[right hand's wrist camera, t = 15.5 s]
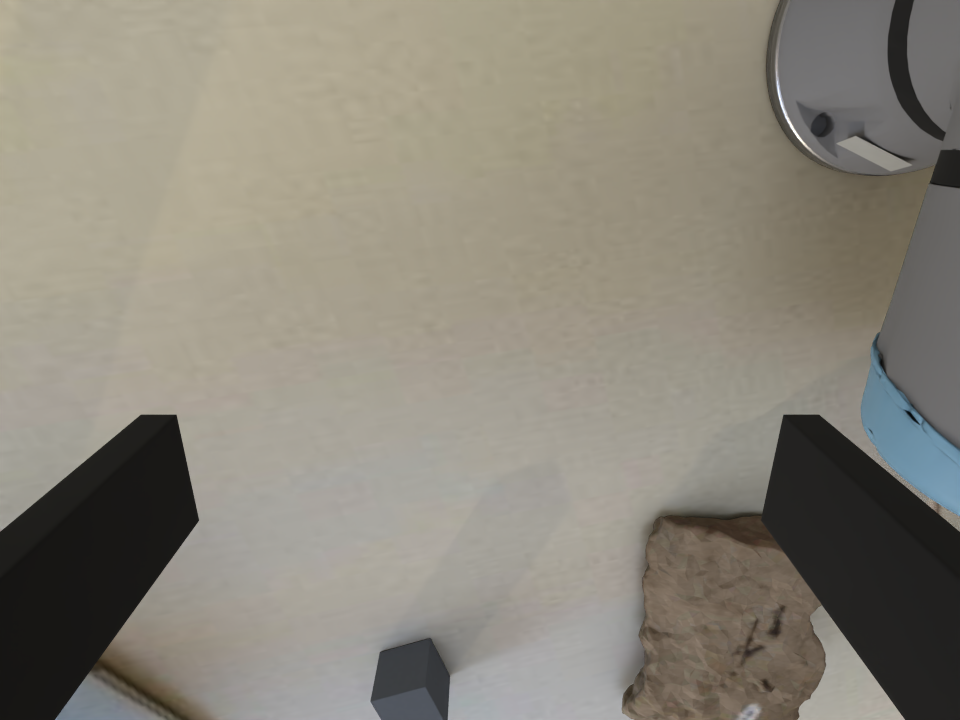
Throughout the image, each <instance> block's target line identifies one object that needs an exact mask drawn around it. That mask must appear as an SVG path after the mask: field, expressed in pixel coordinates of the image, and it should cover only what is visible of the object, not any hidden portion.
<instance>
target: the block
mask: <svg viewBox="0 0 960 720" xmlns="http://www.w3.org/2000/svg"><path fill="white" fill-rule="evenodd" d="M449 684H450V675H449V673H448V671H447V669H446V667H445V665H444V664H443V662H442V660H441V658H440V656H439V654H438V652H437V650H436V648H435V646H434V644H433V643H432V641H431V639H430V638H429V639H426V640H422V641H419V642H415V643H411V644H408V645H404V646H401V647H397V648H393V649H390V650H386V651H383V652H380V655H379V660H378V665H377V671H376V676H375V681H374V686H373V691H372V697H371V703H372V705H373V707H374V708H375V710H376V712H377V713H378V715H379V717H380V718H381V720H448V702H449Z"/></svg>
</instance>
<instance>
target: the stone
mask: <svg viewBox="0 0 960 720" xmlns="http://www.w3.org/2000/svg"><path fill="white" fill-rule="evenodd" d="M761 518H762V516H756V515H754V516H751V517H746V516H745V517H739V518H735V519H730V520H721V519H716V518H697V517H686V518H683V517H680V516H666V517H659V518H658V519H656V521H655V523H654V531H653V532H652V534H651V535H650V536H649V540H648V543H647V545H646V559H647V562H648V564H649V566H648V568H647V569H646V571H645V575H644V576H643V578H642V583H643V585H642V586H643V591H644V608H645V610H646V616H645V620H644V621H643V625H642V627H641V629H640V632H639V637H640V640H641V642H642V645H643V647H644V648H645V664H644V667H643V668H642V669H641V670H640V673H639V674H638V675H637V677H636V678H635V681H634V684H633V685H631V686H629V688H628V689H627V690H626V691H625V693H624V694H623V701H622V713H623V714H625V715H627V716H628V717H630V718H631V719H634V720H797V719H798V718H799V713H798V710H799V706H800V705H801V704H802V703H803V702H804V701H805V700H808V699H810V697H811V694H812V693H813V692H814V690H815V689H816V688H817V686H818V684H819V682H820V680H821V678H822V675H823V673H824V670H825V667H826V663H825V652H824V649H823V646H822V643H821V642H820V640H819V639H818V637H817V636H816V635H815V633H814V631H813V625H812V624H811V622H810V615H811V614H812V613H813V612H814V611H815V610H816V609H817V608H818V607H819V606H821V605H822V604H821V603H820V601H819V600H818V599H817V597H816V596H815V594H814V593H813V592H812V590H811V589H810V588H809V586H808V585H807V583H806V582H805V581H804V579H803V578H802V577H801V575H800V574H799V572H798V571H797V570H796V568H795V567H794V565H793V564H792V563H791V561H790V560H789V559H788V557H787V556H786V554H785V553H784V552H783V550H782V549H781V548H780V546H779V545H778V543H777V542H776V541H775V539H774V538H773V536H772V535H771V534H770V532H769V531H768V530H767V528H766V527H765V525H764V524H763V523H762V521H761Z"/></svg>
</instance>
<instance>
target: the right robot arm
mask: <svg viewBox="0 0 960 720" xmlns="http://www.w3.org/2000/svg"><path fill="white" fill-rule="evenodd" d="M766 71H767V84H768V90H769V96H770V100H771V104H772V107H773V110H774V112H775V115H776V118H777V120H778V122H779V124H780V126H781V128H782V129H783V131H784V132H785V134H786V135H787V137H788V138H789V139H790V141H791V142H792V143H793V144H794V145H795V146H796V147H797V148H798V149H799V150H800V151H801V152H802V153H803V154H805V155H806V156H807V157H809V158H810V159H812V160H813V161H815V162H817V163H819V164H820V165H823V166H825V167H827V168H830V169H833V170H836V171H840V172H845V173H851V174H859V175H870V176H885V175H895V174H901V173H907V172H913V171H917V170H921V169H924V168H927V167H930V166H933V165H936V166H935V169H934V172H933V175H932V179H931V181H930V183H929V185H928V188H927V191H926V194H925V197H924V200H923V203H922V206H921V210H920V213H919V216H918V219H917V222H916V225H915V228H914V231H913V234H912V238H911V241H910V244H909V247H908V250H907V253H906V256H905V259H904V262H903V266H902V269H901V272H900V275H899V278H898V281H897V284H896V287H895V290H894V294H893V297H892V300H891V303H890V306H889V309H888V311H887V314H886V317H885V320H884V323H883V326H882V329H881V332H879V333H877V335H876V337H875V339H874V341H873V344H872V347H871V366H870V371H869V375H868V379H867V383H866V387H865V391H864V394H863V398H862V403H861V419H862V423H863V427H864V429H865V431H866V433H867V435H868V437H869V439H870V440H871V442H872V443H873V444H874V445H875V446H876V448H877V451H878V453H879V454H880V455H881V457H882V458H883V459H884V460H885V461H886V462H887V463H888V464H889V465H890V466H891V467H892V468H893V469H894V470H895V471H896V472H897V473H898V474H899V475H900V476H901V477H903V478H904V479H905V480H906V481H908V482H909V483H910V484H911V485H912V486H914V487H915V488H916V489H918V490H919V491H920V492H922V493H923V494H925V495H926V496H927V497H929V498H930V499H932V500H934V501H935V502H937V503H938V504H940V505H942V506H943V507H945V508H946V509H948V510H950V511H951V512H953V513H955V514H957V515H958V516H960V0H780V3H779V6H778V8H777V11H776V13H775V17H774V20H773V24H772V27H771V32H770V37H769V42H768V50H767V66H766ZM198 521H199V518H198V513H197V509H196V504H195V499H194V495H193V490H192V485H191V481H190V476H189V471H188V466H187V462H186V457H185V452H184V448H183V443H182V438H181V434H180V429H179V424H178V420H177V415H140V416H139V417H138V418H137V419H135V420H134V421H133V422H132V423H131V424H129V425H128V426H127V427H126V428H125V429H123V430H122V431H121V432H120V433H119V434H117V435H116V436H115V437H114V438H112V439H111V440H110V441H109V442H108V443H106V444H105V445H104V446H103V447H102V448H100V449H99V450H98V451H97V452H96V453H94V454H93V455H92V456H91V457H90V458H88V459H87V460H86V461H85V462H84V463H82V464H81V465H80V466H79V467H78V468H76V469H75V470H74V471H73V472H72V473H70V474H69V475H68V476H67V477H66V478H64V479H63V480H62V481H61V482H60V483H58V484H57V485H56V486H55V487H54V488H52V489H51V490H50V491H49V492H48V493H46V494H45V495H44V496H43V497H42V498H40V499H39V500H38V501H37V502H36V503H34V504H33V505H32V506H31V507H30V508H28V509H27V510H26V511H25V512H24V513H22V514H21V515H20V516H19V517H18V518H16V519H15V520H14V521H13V522H12V523H10V524H9V525H8V526H7V527H6V528H4V529H3V530H2V531H1V532H0V720H55V719H56V717H57V716H58V715H59V713H60V712H61V710H62V709H63V708H64V706H65V705H66V704H67V702H68V701H69V699H70V698H71V697H72V695H73V694H74V693H75V691H76V690H77V688H78V687H79V686H80V684H81V683H82V681H83V680H84V679H85V677H86V676H87V675H88V673H89V672H90V670H91V669H92V668H93V666H94V665H95V664H96V662H97V661H98V659H99V658H100V657H101V655H102V654H103V652H104V651H105V650H106V648H107V647H108V646H109V644H110V643H111V641H112V640H113V639H114V637H115V636H116V635H117V633H118V632H119V630H120V629H121V628H122V626H123V625H124V623H125V622H126V621H127V619H128V618H129V617H130V615H131V614H132V612H133V611H134V610H135V608H136V607H137V606H138V604H139V603H140V601H141V600H142V599H143V597H144V596H145V594H146V593H147V592H148V590H149V589H150V588H151V586H152V585H153V583H154V582H155V581H156V579H157V578H158V577H159V575H160V574H161V572H162V571H163V570H164V568H165V567H166V565H167V564H168V563H169V561H170V560H171V559H172V557H173V556H174V554H175V553H176V552H177V550H178V549H179V548H180V546H181V545H182V543H183V542H184V541H185V539H186V538H187V536H188V535H189V534H190V532H191V531H192V530H193V528H194V527H195V525H196V524H197V523H198ZM761 521H762V523H763V524H764V525H765V527H766V528H767V530H768V531H769V532H770V534H771V535H772V536H773V538H774V539H775V541H776V542H777V543H778V545H779V546H780V548H781V549H782V550H783V552H784V553H785V554H786V556H787V557H788V559H789V560H790V561H791V563H792V564H793V565H794V567H795V568H796V570H797V571H798V572H799V574H800V575H801V577H802V578H803V579H804V581H805V582H806V583H807V585H808V586H809V588H810V589H811V590H812V592H813V593H814V594H815V596H816V597H817V599H818V600H819V601H820V603H821V604H822V606H823V607H824V608H825V610H826V611H827V612H828V614H829V615H830V617H831V618H832V619H833V621H834V622H835V623H836V625H837V626H838V628H839V629H840V630H841V632H842V633H843V635H844V636H845V637H846V639H847V640H848V641H849V643H850V644H851V646H852V647H853V648H854V650H855V651H856V652H857V654H858V655H859V657H860V658H861V659H862V661H863V662H864V664H865V665H866V666H867V668H868V669H869V670H870V672H871V673H872V675H873V676H874V677H875V679H876V680H877V681H878V683H879V684H880V686H881V687H882V688H883V690H884V691H885V693H886V694H887V695H888V697H889V698H890V699H891V701H892V702H893V704H894V705H895V706H896V708H897V709H898V710H899V712H900V713H901V715H902V716H903V717H904V719H905V720H960V532H959V531H958V530H957V529H956V528H954V527H953V526H952V525H951V524H950V523H948V522H947V521H946V520H945V519H944V518H942V517H941V516H940V515H939V514H938V513H936V512H935V511H934V510H933V509H932V508H930V507H929V506H928V505H927V504H926V503H924V502H923V501H922V500H921V499H920V498H918V497H917V496H916V495H915V494H914V493H912V492H911V491H910V490H909V489H908V488H906V487H905V486H904V485H903V484H902V483H900V482H899V481H898V480H897V479H896V478H894V477H893V476H892V475H891V474H890V473H888V472H887V471H886V470H885V469H884V468H882V467H881V466H880V465H879V464H878V463H876V462H875V461H874V460H873V459H872V458H870V457H869V456H868V455H867V454H866V453H864V452H863V451H862V450H861V449H860V448H858V447H857V446H856V445H855V444H854V443H852V442H851V441H850V440H849V439H848V438H846V437H845V436H844V435H843V434H841V433H840V432H839V431H838V430H837V429H835V428H834V427H833V426H832V425H831V424H829V423H828V422H827V421H826V420H825V419H823V418H822V417H821V416H820V415H783V420H782V424H781V429H780V434H779V438H778V443H777V448H776V452H775V457H774V462H773V466H772V471H771V476H770V481H769V485H768V490H767V495H766V499H765V504H764V509H763V513H762V518H761Z"/></svg>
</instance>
